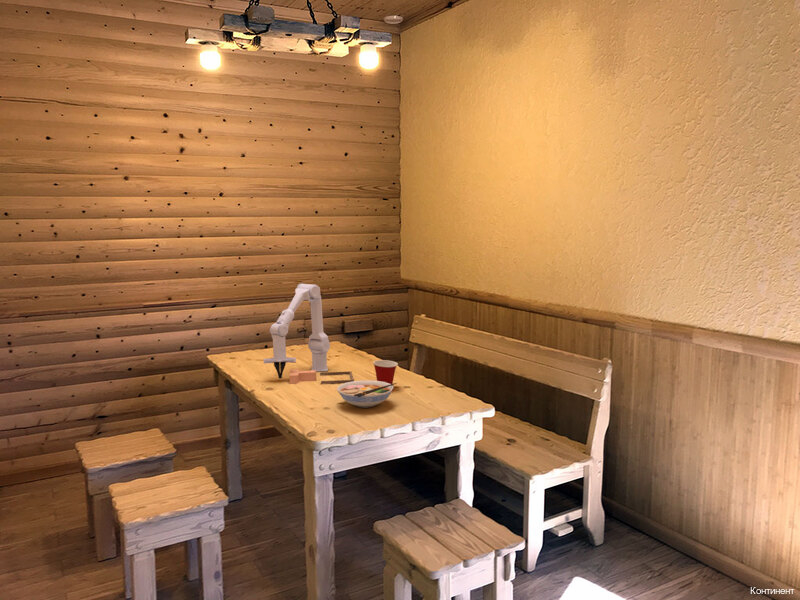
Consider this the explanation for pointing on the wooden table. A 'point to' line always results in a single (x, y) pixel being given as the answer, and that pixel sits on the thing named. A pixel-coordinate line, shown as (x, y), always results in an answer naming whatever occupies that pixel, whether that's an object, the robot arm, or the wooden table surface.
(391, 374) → the plastic cup
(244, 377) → the wooden table surface
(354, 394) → the ramen bowl
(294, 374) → the t block
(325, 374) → the frame
